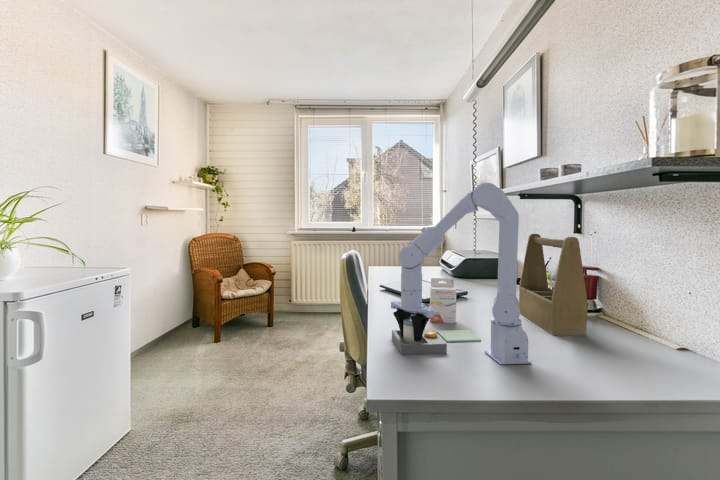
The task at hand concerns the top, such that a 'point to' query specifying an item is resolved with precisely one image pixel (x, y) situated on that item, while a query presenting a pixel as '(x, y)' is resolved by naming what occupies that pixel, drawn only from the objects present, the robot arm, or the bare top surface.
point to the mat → (458, 336)
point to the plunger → (430, 334)
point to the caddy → (568, 299)
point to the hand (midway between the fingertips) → (411, 338)
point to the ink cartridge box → (443, 300)
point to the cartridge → (408, 332)
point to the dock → (420, 344)
